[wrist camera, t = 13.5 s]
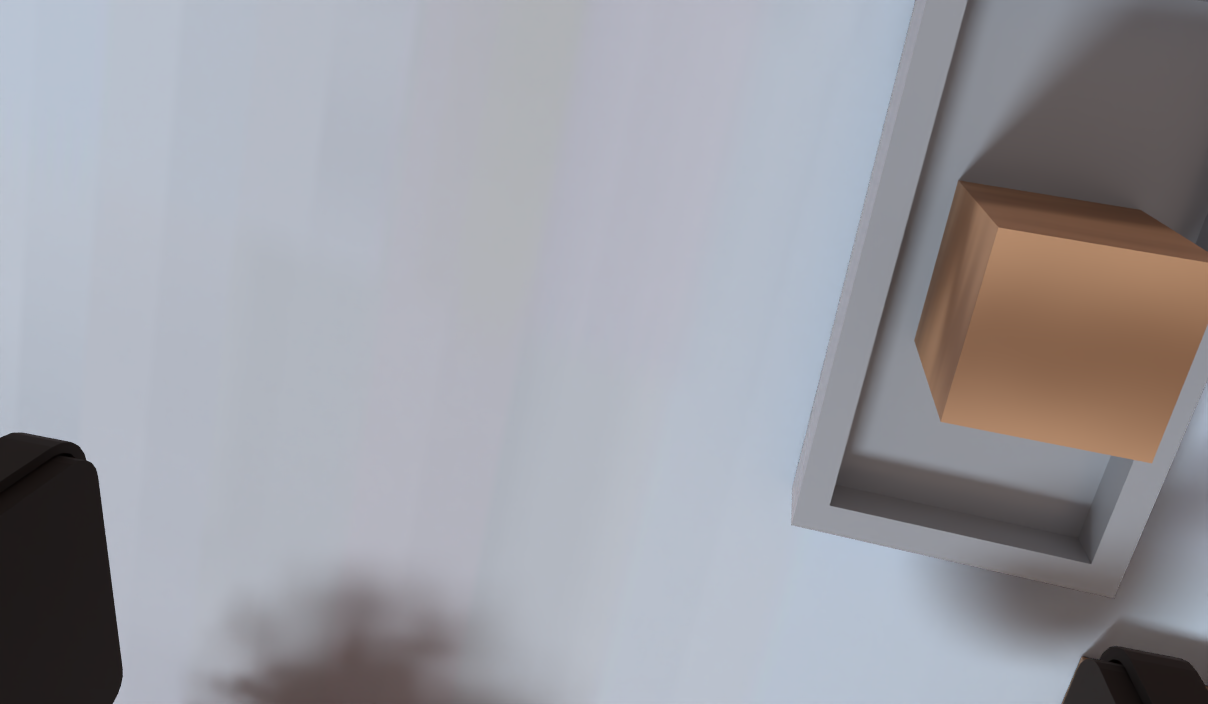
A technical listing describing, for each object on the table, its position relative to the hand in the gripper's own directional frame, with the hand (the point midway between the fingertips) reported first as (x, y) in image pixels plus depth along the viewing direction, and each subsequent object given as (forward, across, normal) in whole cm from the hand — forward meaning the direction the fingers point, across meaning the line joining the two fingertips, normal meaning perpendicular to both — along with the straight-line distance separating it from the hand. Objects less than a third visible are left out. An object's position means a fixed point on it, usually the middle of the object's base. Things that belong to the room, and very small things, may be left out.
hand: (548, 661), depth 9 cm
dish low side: (+22, -10, +1) cm, 24 cm away
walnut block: (+21, -10, +1) cm, 23 cm away
